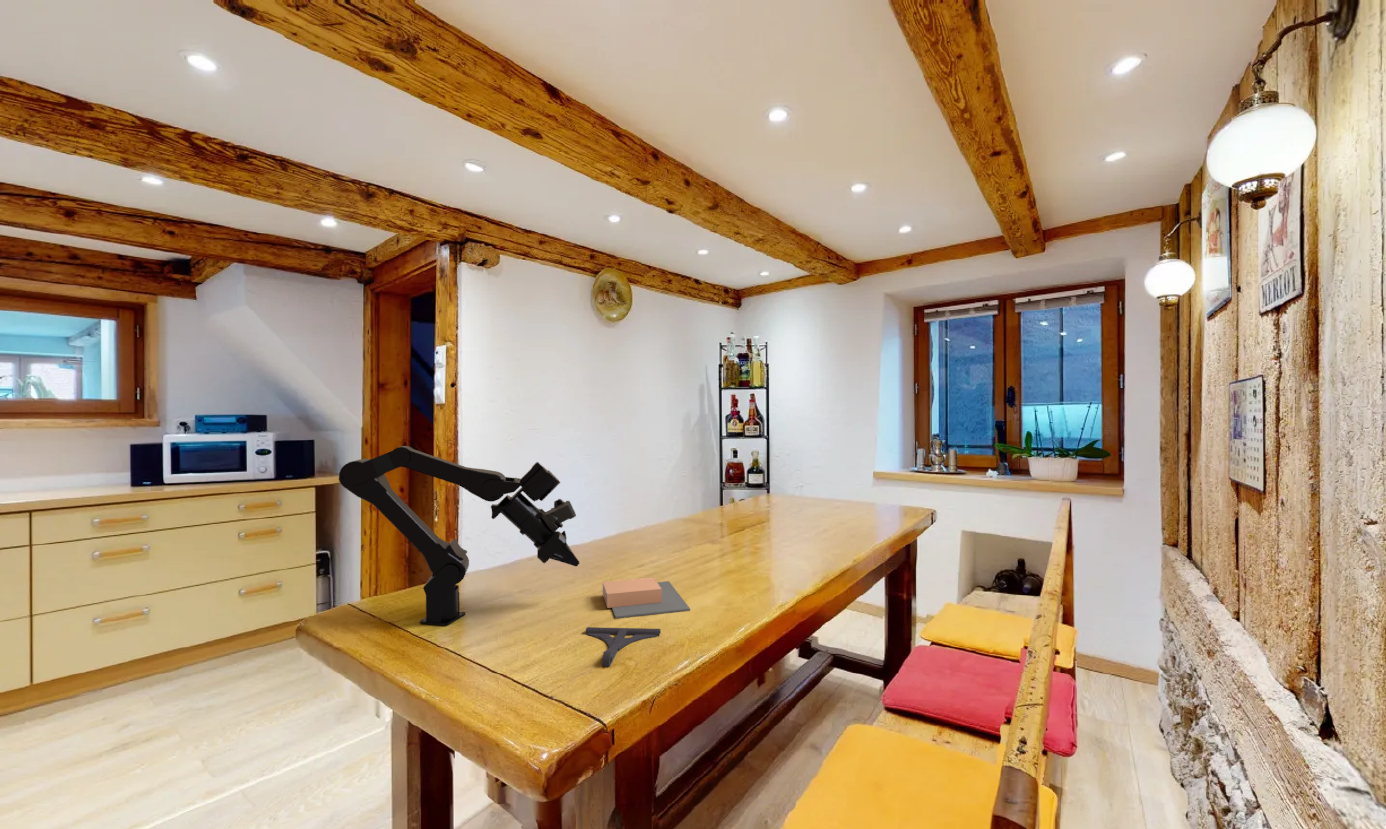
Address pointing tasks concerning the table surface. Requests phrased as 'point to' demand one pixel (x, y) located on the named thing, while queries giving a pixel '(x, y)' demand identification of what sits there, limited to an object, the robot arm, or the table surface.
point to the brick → (631, 592)
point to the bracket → (619, 639)
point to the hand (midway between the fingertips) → (578, 564)
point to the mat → (655, 604)
